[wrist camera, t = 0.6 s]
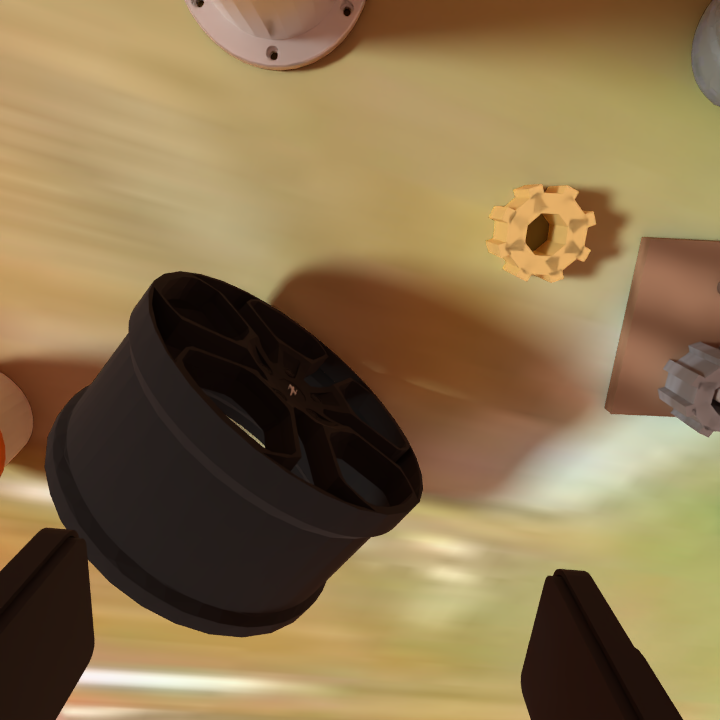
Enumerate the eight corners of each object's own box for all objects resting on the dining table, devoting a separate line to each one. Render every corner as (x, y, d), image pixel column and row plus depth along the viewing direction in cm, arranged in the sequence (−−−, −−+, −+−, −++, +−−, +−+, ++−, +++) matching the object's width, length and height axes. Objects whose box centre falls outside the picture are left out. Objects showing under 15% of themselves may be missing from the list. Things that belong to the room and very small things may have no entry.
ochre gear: (492, 183, 37) (506, 182, 33) (580, 188, 37) (603, 187, 33) (481, 272, 39) (493, 279, 35) (564, 276, 39) (584, 284, 35)
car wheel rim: (407, 411, 42) (446, 588, 23) (331, 490, 45) (310, 709, 26) (212, 254, 38) (65, 313, 19) (140, 351, 41) (-54, 488, 22)
